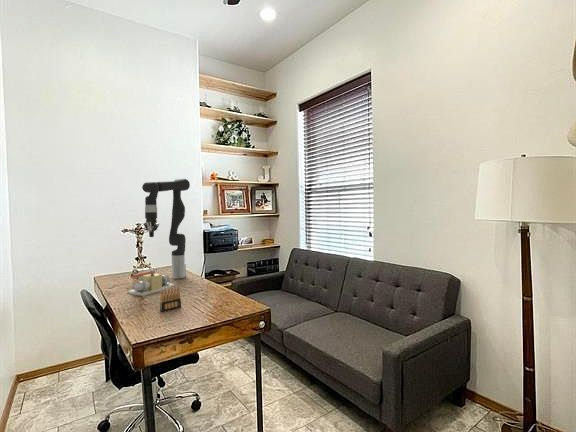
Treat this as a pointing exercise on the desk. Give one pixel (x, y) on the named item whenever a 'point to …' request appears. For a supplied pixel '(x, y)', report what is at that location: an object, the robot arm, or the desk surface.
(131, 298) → the desk surface
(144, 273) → the valve lever
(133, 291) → the valve stand
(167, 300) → the ammunition clip
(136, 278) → the pneumatic valve
